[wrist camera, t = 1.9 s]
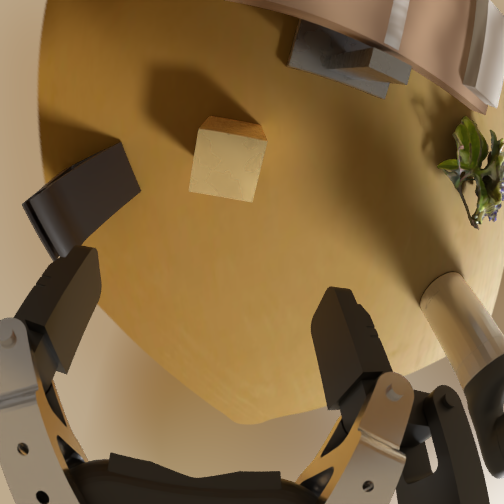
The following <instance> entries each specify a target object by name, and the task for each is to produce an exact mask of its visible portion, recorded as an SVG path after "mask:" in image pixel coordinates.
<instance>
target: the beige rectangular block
mask: <svg viewBox="0 0 504 504" xmlns="http://www.w3.org/2000/svg"><path fill="white" fill-rule="evenodd" d="M266 145H267V139H266V136H265V134H264V132H263V129H262V127H261V125H258V124H253V123H248V122H243V121H238V120H233V119H227V118H222V117H216V116H209V118H208V119H207V120H206V121H205V122H204V123H203V124H202V125H201V127H200V128H199V130H198V135H197V141H196V147H195V153H194V159H193V166H192V172H191V179H190V186H189V191H190V192H196V193H202V194H208V195H214V196H219V197H225V198H231V199H236V200H242V201H247V202H252V201H253V197H254V193H255V189H256V185H257V181H258V177H259V173H260V169H261V165H262V161H263V157H264V153H265V149H266Z"/></svg>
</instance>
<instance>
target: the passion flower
mask: <svg viewBox="0 0 504 504" xmlns="http://www.w3.org/2000/svg"><path fill="white" fill-rule="evenodd" d="M490 132H491V137H492V138H491V143H492V145H491V149H492V151H490V152H488V144H487V143H486V140H485V138H484V137H483V135H482V134H481V132H480V131H479V130H478V129H477V124H476V123H475V122H474V121H471V120H470V119H469V118H468V117H467V116H464V117H463V118H462V120H461V123H460V124H459V125H458V126H457V127H456V130H455V132H454V133H453V134H452V136H453V137H454V138H455V141H456V146H457V150H458V151H457V160H456V159H448V160H445V161H443V162H441V163H440V164H439V165H438V166H437V168H439V169H442V170H443V172H444V173H445V174H446V175H447V176H448V177H449V178H450V180H451V181H452V182H453V184H454V186H455V188H456V189H457V190H458V192H459V193H460V196H461V198H462V201H463V203H464V205H465V208H466V211H467V214H468V218H469V220H470V223H471V225H472V226H474V228H477V229H478V230H479V228H478V225H477V224H482V220H483V218H484V216H488V217H489V221H490V220H493V222H495V221H496V216H497V212H498V209H500V208H501V203H502V201H503V199H504V152H501V150H502V148H503V146H504V143H502V141H503V140H504V139H500V140H499V141H497V137H496V135H495V133H494V132H493V131H492V130H490ZM488 153H489V154H488ZM487 155H488V158H487V160H488V164H487V166H486V167H485V168H484V169H480V167H481V166H482V161H483V160H484V159H485V158H486V157H487ZM459 157H460V161H459ZM445 169H446V170H451V171H452V172H447V171H446V170H445ZM455 171H456V172H457V173H456V172H455ZM463 171H465V172H466V173H465V175H464V176H463V177H462V178H460V174H461V172H463ZM468 176H472V177H474V179H470V178H467V177H468ZM465 180H475V181H476V184H477V185H476V190H475V193H476V195H477V197H478V201H477V209H476V211H475V213H474V214H473V215H472V217H471V216H470V213H469V209H468V206H467V204H466V201H465V199H464V196H463V194H462V182H463V181H465Z"/></svg>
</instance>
